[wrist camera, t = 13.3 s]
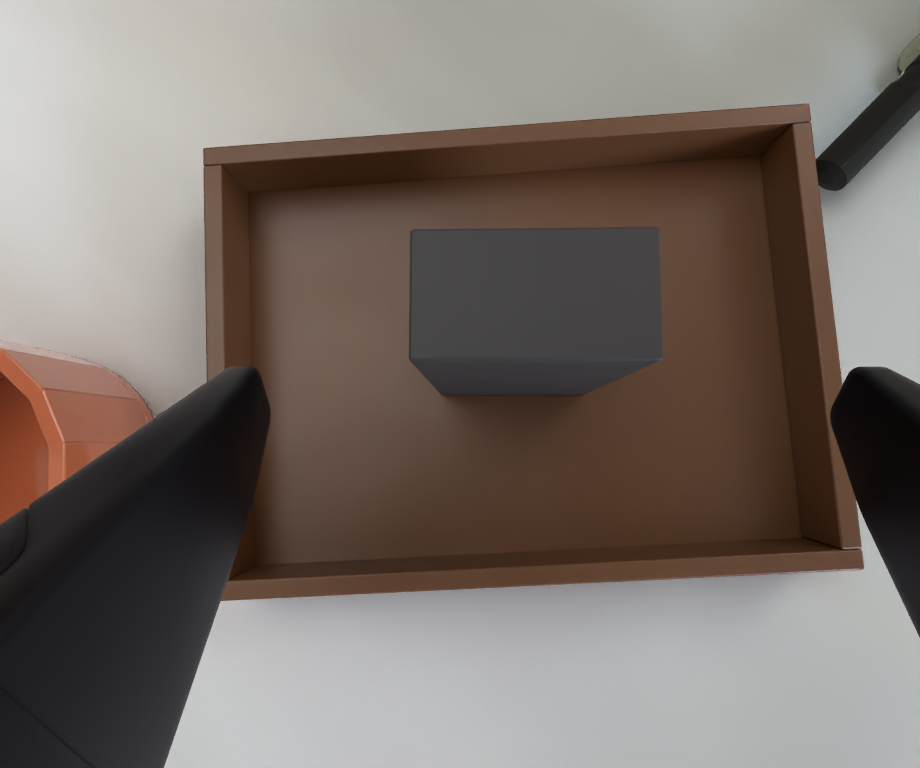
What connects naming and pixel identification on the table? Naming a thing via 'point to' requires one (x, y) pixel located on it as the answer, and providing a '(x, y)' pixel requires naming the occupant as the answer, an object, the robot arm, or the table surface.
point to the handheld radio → (873, 125)
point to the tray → (532, 417)
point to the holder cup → (56, 420)
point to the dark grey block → (533, 308)
